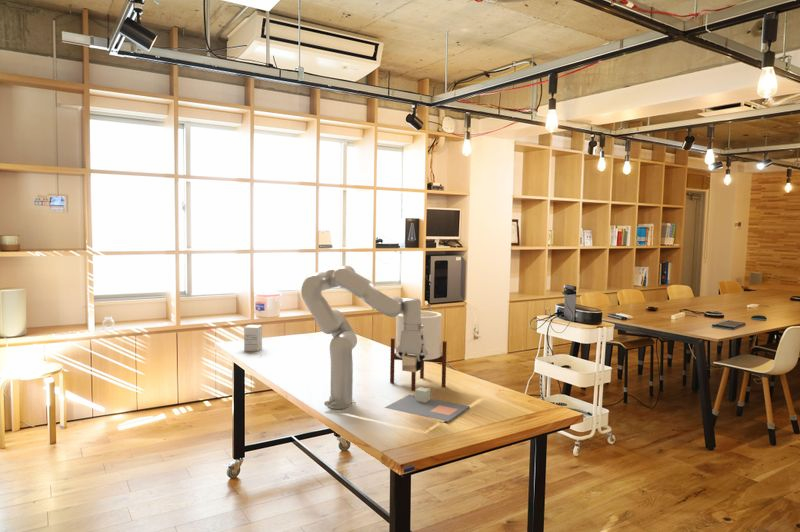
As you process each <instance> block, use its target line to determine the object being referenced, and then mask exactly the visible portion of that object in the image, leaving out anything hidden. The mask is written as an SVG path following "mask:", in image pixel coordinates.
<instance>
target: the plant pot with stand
mask: <svg viewBox="0 0 800 532" xmlns="http://www.w3.org/2000/svg"><path fill="white" fill-rule="evenodd" d="M395 318H396V319H395V320H396V323H395V326H396V327H395V337H391V338H390V359H389V360H390V365H389V368H390V369H389V370H390V371H389V372H390V373H389V374H390V377H389V384H395V361H402V359H401V356H400V355H399V353H398V352H397V351H396V349H397V347H398V346H399V345H400V339H401V333H402V330H403V313H400V314H399V315H397V316H396V317H395ZM442 321H443V314H442V313H440V312H439V311H433V310H432V311H431V310H422V309H421V325H422V326H423V329H421V330H422V331H423V334H424V342H425V349H426V350H427V351H428V353H429V354H428V355H427V356H426V357H425V358H424V359H423V360H422V368H421V370H419V378H420V379H424V377H425V363H428V362H429V363H440V364H441V388H446V386H447V385H446V382H447V381H446V380H447V377H446V376H447V345H448V344H447V342H448V341H447V340H443V341H442V330H443V329H442V326H443V323H442ZM421 354H422V355H423V354H424V353H421ZM407 355H408V354H407ZM414 355H415V354H414ZM416 375H417V373H416V372H411V381H410V383H411V384H410V387H411V388H410V390H411V391H412V392H415V390H416V382H417V381H416V378H417V376H416Z"/></svg>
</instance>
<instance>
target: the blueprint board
mask: <svg viewBox="0 0 800 532" xmlns="http://www.w3.org/2000/svg"><path fill="white" fill-rule="evenodd" d="M384 409H389V410H393V411H399V412H403V413H408V414H413V415H416V416H422V417H426V418H430V419H435V420H439V421H438V423H441V421H443V422H442V424H449V423H450V422H453V421H454V420H455V419H457V418H458V417H459V416H461V415H462V414H464V413H465V412H467V411H468V410H469V409H471V408H470V405H467V404H460V403H456V402H450V401H445V400H441V399H435V398H430V400H429V401H427V402H425V403H424V402H419V401H415V394H408V395H405V396H404V397H402V398H400V399H397V401H394V402H392V403H391V404H388V405H386V406H385V407H384Z"/></svg>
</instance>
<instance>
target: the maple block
mask: <svg viewBox="0 0 800 532" xmlns="http://www.w3.org/2000/svg"><path fill="white" fill-rule="evenodd" d="M401 361H402V362H401V364H402V367H401V368H402V369H401V370H402V371H405V372H409V373H412V372H418V371H419V372H420V370H418V371H417V370H416V362H417V361H418V360H417V357H416V355H414V354H408V355H405V356H403V357H402V360H401Z"/></svg>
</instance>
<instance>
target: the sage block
mask: <svg viewBox="0 0 800 532" xmlns="http://www.w3.org/2000/svg"><path fill="white" fill-rule="evenodd" d="M414 392H415V394H414V395H415V401H419V402H424V403H425V402H427V401H429V400H430V399H431V388H429V387H428V388H427V387H422V386H420V387H417V388H415V391H414Z"/></svg>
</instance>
